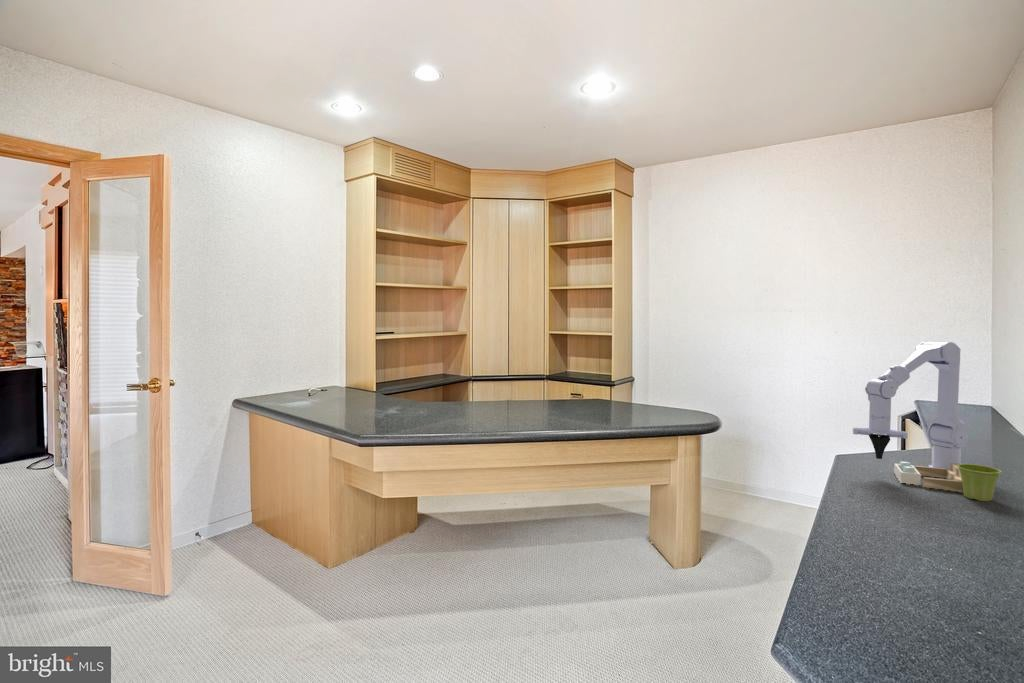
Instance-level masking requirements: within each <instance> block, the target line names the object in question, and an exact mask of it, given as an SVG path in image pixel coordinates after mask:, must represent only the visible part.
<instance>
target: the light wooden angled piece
mask: <svg viewBox="0 0 1024 683" xmlns="http://www.w3.org/2000/svg"><path fill="white" fill-rule="evenodd" d="M957 465H959V464H956V463H950V469H945V468H935V467H928V466H922V465H913V466H914V467H915V468H916V469H917V471H918V472H919V473H920V474H921V475H922V476H921V477H923V486H924V487H927V488H926V489H929V488H936V489H935V490H938V489H944V490H943V491H947V490H951V491H950V492H956V491H958V493H963V485H962V478H961V473H960V470H959V468H958V467H957ZM925 476H932V477H925ZM934 477H943V478H934ZM944 478H947V479H948V480H947V479H944ZM924 487H923V488H924Z"/></svg>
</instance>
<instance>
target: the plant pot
mask: <svg viewBox="0 0 1024 683" xmlns="http://www.w3.org/2000/svg"><path fill="white" fill-rule="evenodd" d="M957 467H958V468H959V470H960V473H961V478H962V485H963V492H962V493H963V497H965V498H967V499H970V500H973V499H974V500H977V501H980V502H991V501H992V500H993V497H994V494H995V487H996V484H997V480H998V478H999V476H1000V474H1001V473H1002V471H1001V469H998V468H995V467H992V466H986V465H982V464H971V463H960V464H959V465H957Z"/></svg>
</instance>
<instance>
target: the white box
mask: <svg viewBox="0 0 1024 683" xmlns="http://www.w3.org/2000/svg"><path fill="white" fill-rule="evenodd" d="M914 466H915V465H914ZM914 466H913V465H912V464H911V462H909V461H899V463H893V475H894V474H895V475H894V476H895V477H896V479H897V478H898V479H897V480H898V481H900V482H899V483H900V484H901V483H906V484H905V485H910V484H914V485H913V486H919V485H921V482H922V480H921V478H922V476H921V474H920V473H919V472H918V471H917V469H916V468H915V467H914Z"/></svg>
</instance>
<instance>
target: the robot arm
mask: <svg viewBox="0 0 1024 683" xmlns="http://www.w3.org/2000/svg"><path fill="white" fill-rule="evenodd" d="M925 363H930V364H931V365H933V366H934V367H936V369H938V380H937V405H936V409H937V410H936V416H934V417H933V418H931V419H930V420H929V426H928V428H927V430H926V434H927V435H926V436H927V438H928V440H929V441H930V444H932V448H931V464H928V465H927V467H928V466H929V467H935V468H945V469H950V463H956V464H961V463H962V462H961V459H962V458H961V455H962V454H961V452H962V448H964V446H965V445H966V444H967V442H968V441H969V434H968V431H967V424H966V423H965V422H964V421H963V420H962V419H960V418H959V417H958V414H959V413H958V412H959V393H960V391H959V390H960V369H961V368H960V367H961V348H960V346H958V345H957V344H956V343H955V342H953V341H948V342H941V341H927V340H925V341H924V340H923V341H921V342H920V343H919V344H918V345H916V346H915V351H914V352H912V354H911V355H909V356H908V357H907V359H906V360H904V361H903V362H902V363H901V364H900V365H898V364H895V365H891V366H890V367H889V369H888V370H886V371H885V372H884V373H883V374H881V375H880V376H879V377H877V378H873V379H871V380H869V381H868V382H867V384H866V387H865V388H864V391H865V393H866V395H867V400H868V401H869V411H868V412H869V413H868V414H869V415H868V417H869V418H868V419H869V420H868V427H852V434H853V435H856V436H857V435H861V436H864V435H865V436H868V437H869V439H870V441H871V444H872V446H873V449H874V453H875V454H874V455H875V459H876V460H882V459H883V455H884V452H885V450H886V448H887V446H888V444H889V443H890V441H891V438H899V439H905V440H906V439H908V432H907V431H903V430H894V429H891V422H892V421H891V418H892V417H891V416H892V414H891V413H892V410H891V409H892V398H893V397H895V396H896V394H897V390H898V389H899V387H900V386H901V385H903V384H905V383H906V382H907V381H908V380H909V379H910V378H911V375H910V374H911V373H913V371H916V370H917V369H918V368H920V367H921V366H922V365H924V364H925Z"/></svg>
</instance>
